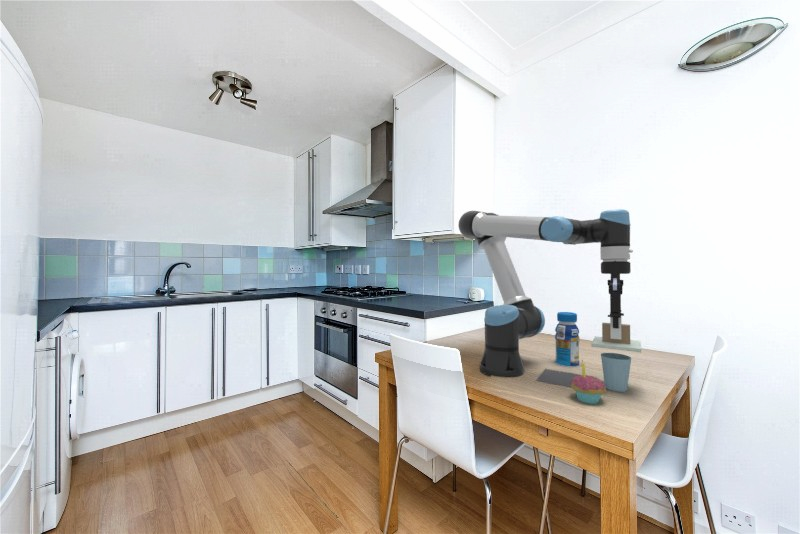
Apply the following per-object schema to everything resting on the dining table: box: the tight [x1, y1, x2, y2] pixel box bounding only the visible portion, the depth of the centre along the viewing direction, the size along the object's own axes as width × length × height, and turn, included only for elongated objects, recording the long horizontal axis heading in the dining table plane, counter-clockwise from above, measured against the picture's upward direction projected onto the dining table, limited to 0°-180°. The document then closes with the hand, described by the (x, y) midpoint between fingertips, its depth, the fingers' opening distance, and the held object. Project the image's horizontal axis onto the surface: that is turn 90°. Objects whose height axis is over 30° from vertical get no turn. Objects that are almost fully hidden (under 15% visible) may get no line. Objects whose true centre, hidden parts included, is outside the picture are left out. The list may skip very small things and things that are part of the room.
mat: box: [535, 368, 580, 389], centre depth 105 cm, size 15×15×1 cm
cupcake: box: [571, 359, 607, 405], centre depth 89 cm, size 9×8×12 cm
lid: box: [590, 322, 642, 353], centre depth 97 cm, size 12×12×6 cm
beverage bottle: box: [554, 311, 581, 368], centre depth 122 cm, size 8×8×20 cm
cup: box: [600, 352, 632, 393], centre depth 97 cm, size 8×8×10 cm
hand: (616, 337), depth 97 cm, fingers closed on lid, 2 cm apart
